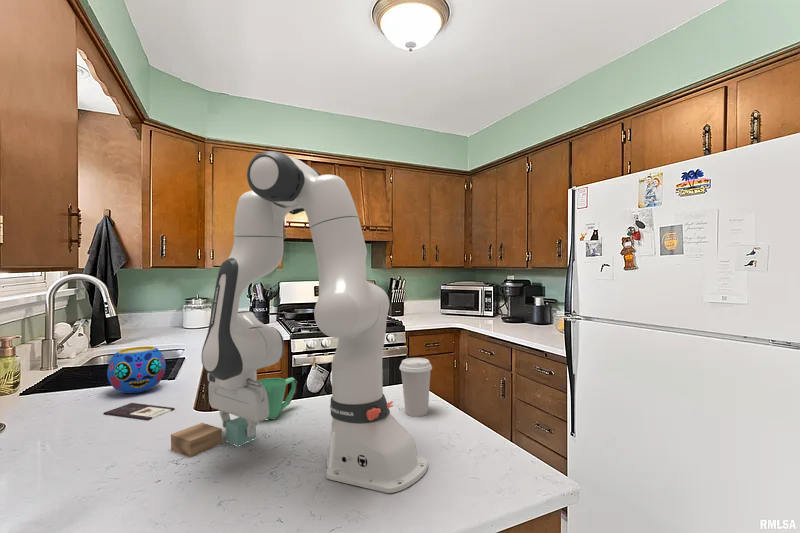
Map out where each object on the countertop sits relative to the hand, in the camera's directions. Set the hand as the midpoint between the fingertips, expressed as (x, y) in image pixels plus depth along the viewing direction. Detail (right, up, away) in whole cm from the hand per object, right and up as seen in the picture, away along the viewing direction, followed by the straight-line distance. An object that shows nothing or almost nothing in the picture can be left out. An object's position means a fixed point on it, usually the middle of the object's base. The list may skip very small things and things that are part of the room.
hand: (238, 431), depth 100 cm
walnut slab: (-9, -3, -3) cm, 10 cm away
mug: (+4, -2, +17) cm, 18 cm away
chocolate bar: (-39, -4, +22) cm, 45 cm away
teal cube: (+1, -2, 0) cm, 2 cm away
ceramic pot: (-53, -4, +43) cm, 69 cm away
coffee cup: (+45, -2, +16) cm, 48 cm away
